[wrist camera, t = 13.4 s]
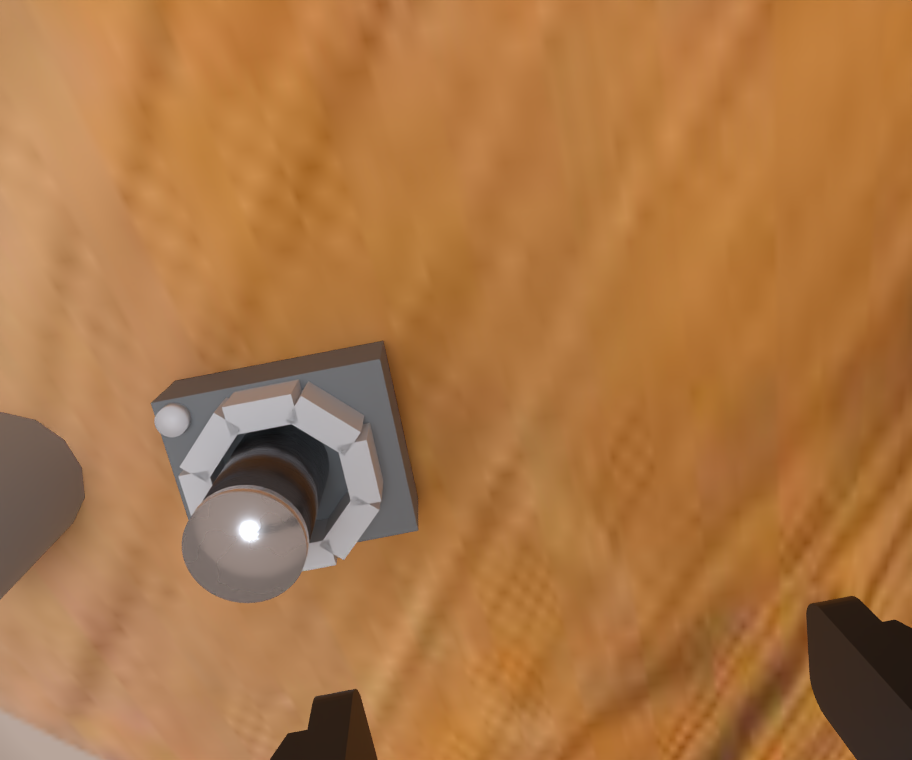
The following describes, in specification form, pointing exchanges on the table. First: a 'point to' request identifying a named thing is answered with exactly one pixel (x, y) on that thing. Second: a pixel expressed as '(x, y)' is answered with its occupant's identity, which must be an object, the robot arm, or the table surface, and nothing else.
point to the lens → (258, 516)
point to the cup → (33, 494)
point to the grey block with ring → (316, 413)
